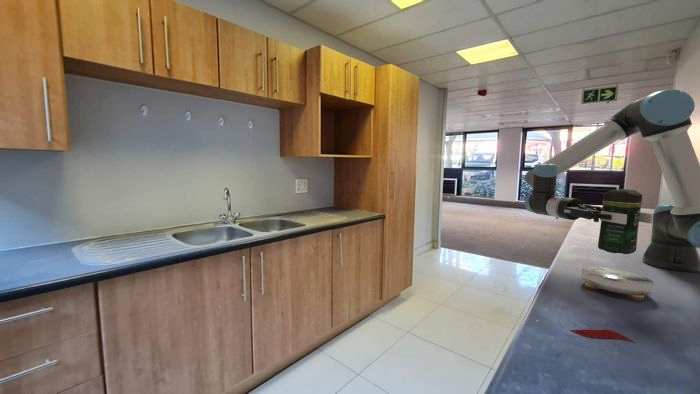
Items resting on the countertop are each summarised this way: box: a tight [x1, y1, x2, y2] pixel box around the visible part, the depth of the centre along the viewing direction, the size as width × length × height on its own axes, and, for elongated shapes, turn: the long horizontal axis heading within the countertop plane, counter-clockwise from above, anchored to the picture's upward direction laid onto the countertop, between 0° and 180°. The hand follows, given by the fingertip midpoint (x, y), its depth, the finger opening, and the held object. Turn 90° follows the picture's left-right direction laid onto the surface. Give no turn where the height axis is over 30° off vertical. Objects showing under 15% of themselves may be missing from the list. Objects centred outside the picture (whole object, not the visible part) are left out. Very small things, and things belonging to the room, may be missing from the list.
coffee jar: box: [597, 188, 643, 255], centre depth 86 cm, size 10×8×19 cm
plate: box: [580, 266, 655, 302], centre depth 88 cm, size 16×16×4 cm
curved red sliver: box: [569, 328, 636, 344], centre depth 64 cm, size 12×5×2 cm, turn 57°
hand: (638, 219), depth 81 cm, fingers closed on coffee jar, 8 cm apart
